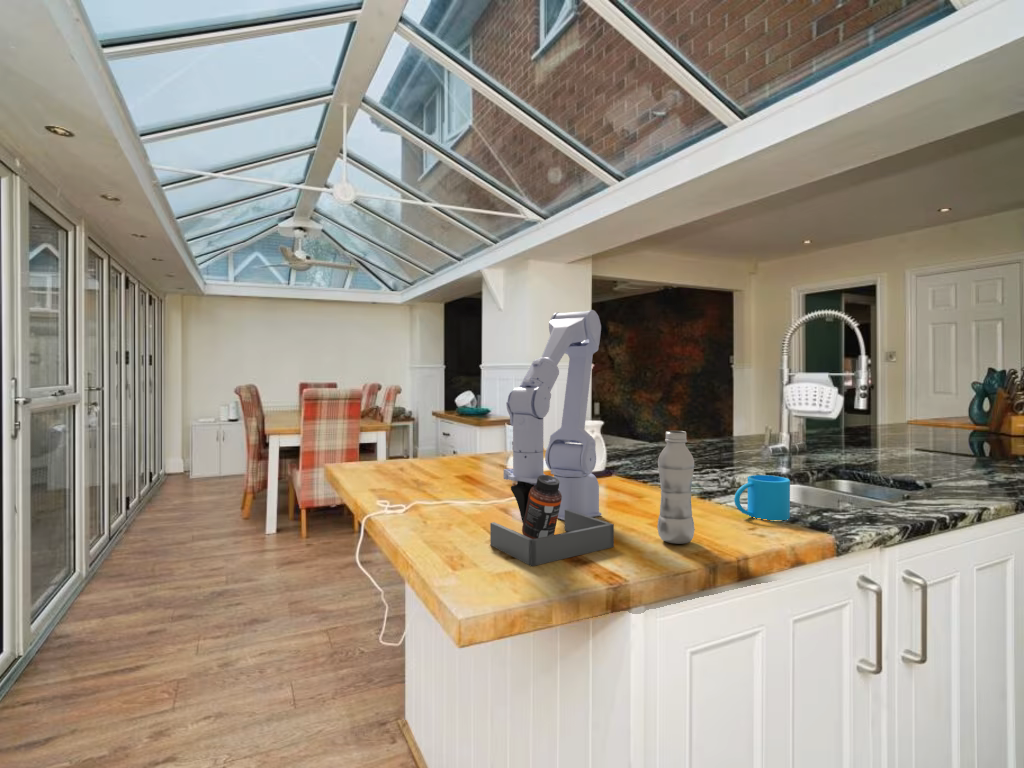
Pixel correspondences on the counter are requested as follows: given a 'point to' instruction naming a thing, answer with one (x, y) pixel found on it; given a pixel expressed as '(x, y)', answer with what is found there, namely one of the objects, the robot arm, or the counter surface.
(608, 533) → the box
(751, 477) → the mug
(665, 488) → the plastic bottle
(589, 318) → the robot arm
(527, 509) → the supplement bottle
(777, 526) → the counter surface
